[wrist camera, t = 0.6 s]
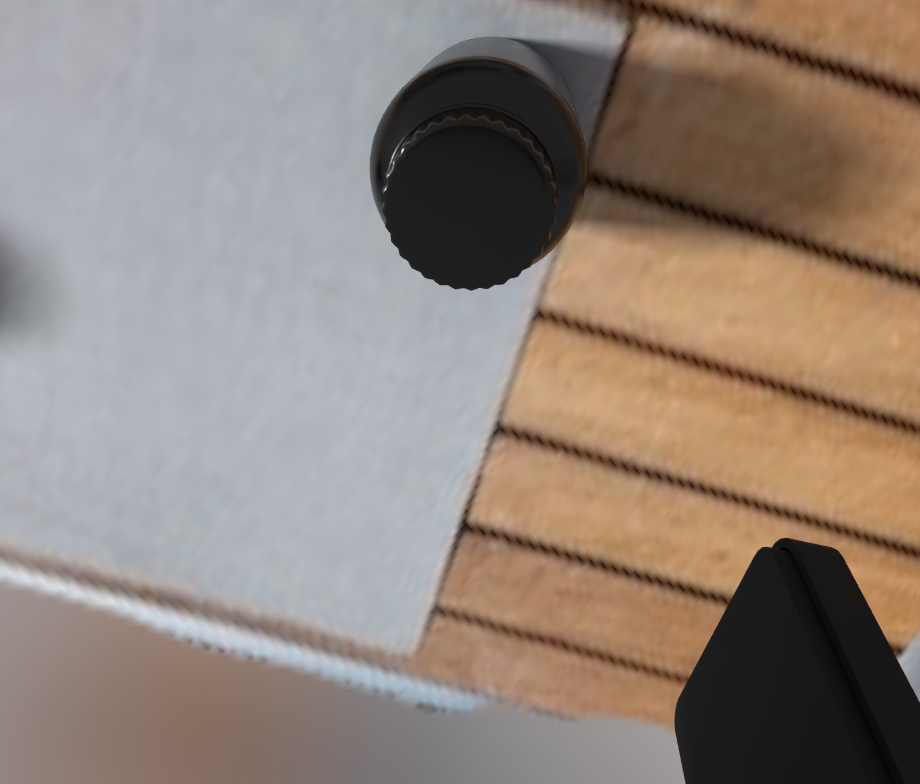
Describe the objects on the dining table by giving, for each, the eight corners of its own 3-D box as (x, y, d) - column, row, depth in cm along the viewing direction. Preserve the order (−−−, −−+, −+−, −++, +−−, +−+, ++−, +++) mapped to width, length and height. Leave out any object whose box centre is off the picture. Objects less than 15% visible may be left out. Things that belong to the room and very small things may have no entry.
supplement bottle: (585, 194, 32) (607, 312, 22) (426, 221, 34) (375, 344, 23) (565, 15, 29) (579, 52, 19) (389, 50, 30) (310, 104, 20)
